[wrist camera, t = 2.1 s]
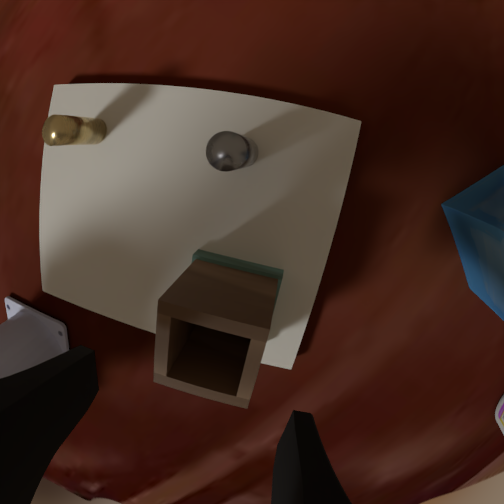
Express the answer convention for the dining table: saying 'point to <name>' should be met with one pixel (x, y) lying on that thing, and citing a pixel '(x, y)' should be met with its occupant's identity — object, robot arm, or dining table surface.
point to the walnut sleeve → (215, 327)
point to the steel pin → (231, 151)
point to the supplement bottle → (500, 414)
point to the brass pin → (73, 130)
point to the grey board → (190, 199)
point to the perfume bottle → (481, 236)
